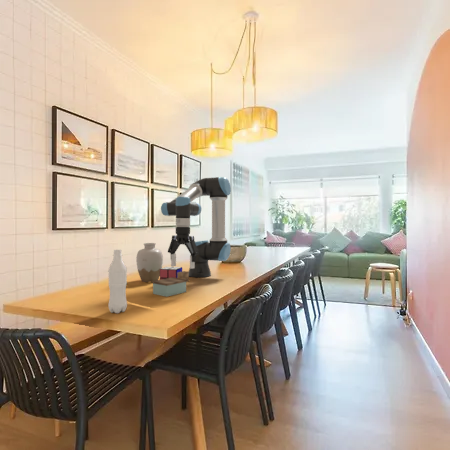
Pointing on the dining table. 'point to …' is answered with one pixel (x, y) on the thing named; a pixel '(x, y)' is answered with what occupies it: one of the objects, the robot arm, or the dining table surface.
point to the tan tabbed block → (174, 279)
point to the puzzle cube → (169, 272)
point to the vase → (149, 262)
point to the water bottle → (117, 284)
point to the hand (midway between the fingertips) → (182, 267)
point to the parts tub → (169, 289)
